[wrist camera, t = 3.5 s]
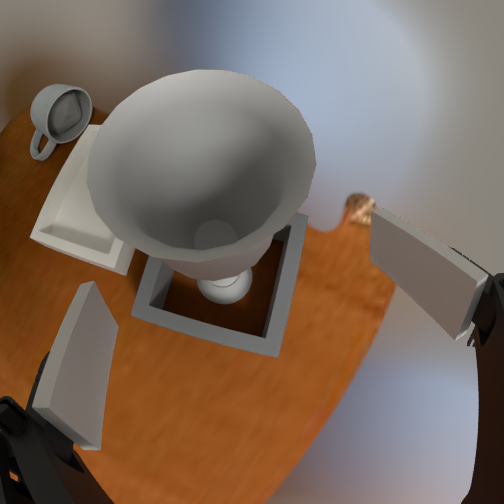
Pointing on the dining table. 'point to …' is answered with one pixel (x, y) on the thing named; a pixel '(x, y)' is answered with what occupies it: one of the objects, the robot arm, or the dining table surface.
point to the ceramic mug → (59, 116)
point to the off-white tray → (79, 216)
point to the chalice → (202, 174)
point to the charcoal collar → (269, 344)
